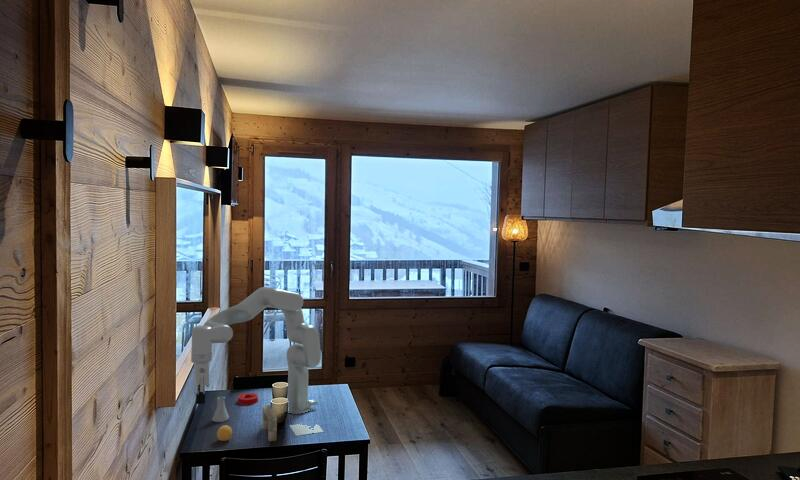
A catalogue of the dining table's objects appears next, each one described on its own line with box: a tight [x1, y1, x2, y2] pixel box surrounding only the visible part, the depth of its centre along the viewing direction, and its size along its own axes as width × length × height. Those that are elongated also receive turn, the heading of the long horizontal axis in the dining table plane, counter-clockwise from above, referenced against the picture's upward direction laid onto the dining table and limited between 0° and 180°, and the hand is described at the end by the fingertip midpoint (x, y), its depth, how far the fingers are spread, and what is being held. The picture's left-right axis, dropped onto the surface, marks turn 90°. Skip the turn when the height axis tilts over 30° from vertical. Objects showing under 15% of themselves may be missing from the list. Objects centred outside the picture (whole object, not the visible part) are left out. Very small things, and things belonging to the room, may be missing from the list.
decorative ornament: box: [237, 392, 259, 406], centre depth 258 cm, size 10×10×3 cm
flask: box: [211, 396, 230, 423], centre depth 234 cm, size 7×7×10 cm
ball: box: [216, 424, 233, 442], centre depth 212 cm, size 6×6×6 cm
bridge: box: [261, 404, 278, 442], centre depth 219 cm, size 3×15×10 cm, turn 25°
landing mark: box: [288, 423, 324, 437], centre depth 226 cm, size 12×12×1 cm
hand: (200, 403), depth 206 cm, fingers closed
